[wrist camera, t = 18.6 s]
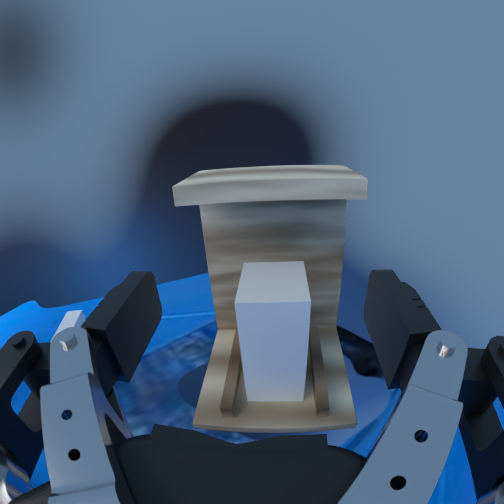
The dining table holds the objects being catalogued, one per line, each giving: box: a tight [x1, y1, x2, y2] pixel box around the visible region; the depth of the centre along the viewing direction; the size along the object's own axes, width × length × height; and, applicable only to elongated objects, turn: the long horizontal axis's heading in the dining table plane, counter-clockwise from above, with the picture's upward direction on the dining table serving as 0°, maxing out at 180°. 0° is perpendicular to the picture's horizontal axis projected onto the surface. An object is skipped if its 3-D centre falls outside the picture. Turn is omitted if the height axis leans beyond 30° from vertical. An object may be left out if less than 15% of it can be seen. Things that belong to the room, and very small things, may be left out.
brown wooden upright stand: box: [173, 165, 368, 433], centre depth 23 cm, size 15×14×19 cm
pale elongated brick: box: [235, 261, 311, 402], centre depth 23 cm, size 6×5×11 cm
